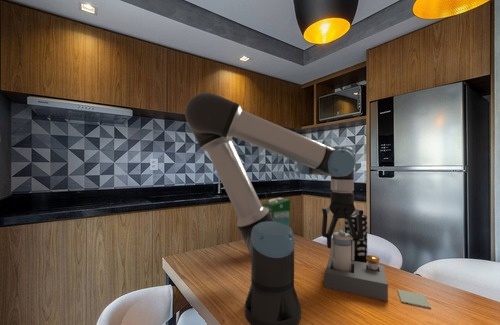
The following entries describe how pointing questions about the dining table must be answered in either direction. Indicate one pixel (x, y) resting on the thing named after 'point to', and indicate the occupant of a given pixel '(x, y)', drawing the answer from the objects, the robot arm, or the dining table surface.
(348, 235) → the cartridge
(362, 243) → the white-spotted black cylinder
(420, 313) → the dining table surface
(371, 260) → the gold lidded jar
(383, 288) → the block
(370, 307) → the dining table surface
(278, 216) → the milk carton
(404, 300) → the mat
